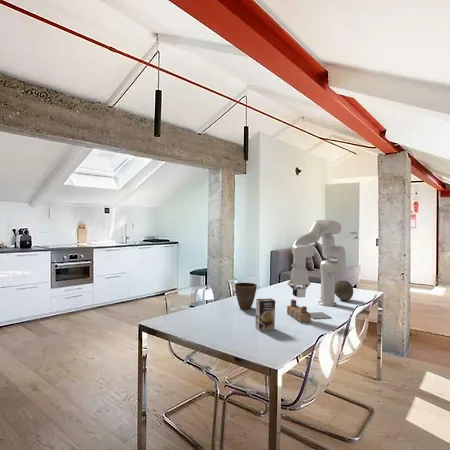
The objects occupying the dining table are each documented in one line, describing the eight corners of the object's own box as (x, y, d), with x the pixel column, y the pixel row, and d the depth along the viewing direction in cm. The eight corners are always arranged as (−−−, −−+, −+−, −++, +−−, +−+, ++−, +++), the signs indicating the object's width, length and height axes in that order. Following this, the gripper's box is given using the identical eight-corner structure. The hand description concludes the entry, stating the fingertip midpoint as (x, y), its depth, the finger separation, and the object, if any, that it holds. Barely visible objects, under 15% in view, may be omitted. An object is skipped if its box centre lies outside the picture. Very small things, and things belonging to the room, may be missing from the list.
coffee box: (259, 331, 183) (259, 301, 183) (255, 327, 189) (255, 298, 189) (275, 330, 185) (275, 300, 185) (270, 326, 191) (270, 297, 191)
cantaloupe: (350, 298, 265) (350, 279, 265) (355, 302, 251) (355, 282, 251) (331, 297, 267) (332, 278, 267) (335, 302, 253) (336, 281, 253)
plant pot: (255, 311, 222) (255, 287, 221) (232, 310, 225) (232, 286, 224) (257, 306, 236) (257, 283, 236) (236, 304, 239) (236, 282, 239)
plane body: (286, 313, 219) (287, 299, 219) (297, 313, 220) (297, 299, 220) (299, 322, 199) (299, 307, 199) (310, 322, 201) (310, 307, 201)
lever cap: (293, 294, 213) (293, 286, 213) (300, 294, 214) (300, 285, 214) (297, 297, 206) (297, 288, 206) (305, 297, 207) (305, 288, 207)
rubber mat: (305, 313, 219) (305, 312, 219) (322, 313, 221) (322, 312, 221) (313, 319, 207) (313, 318, 207) (331, 318, 210) (331, 317, 210)
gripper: (288, 267, 204) (288, 297, 205) (315, 266, 207) (314, 296, 208) (284, 265, 212) (283, 294, 212) (309, 265, 215) (309, 293, 215)
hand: (299, 295), depth 210 cm, fingers closed on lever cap, 5 cm apart
